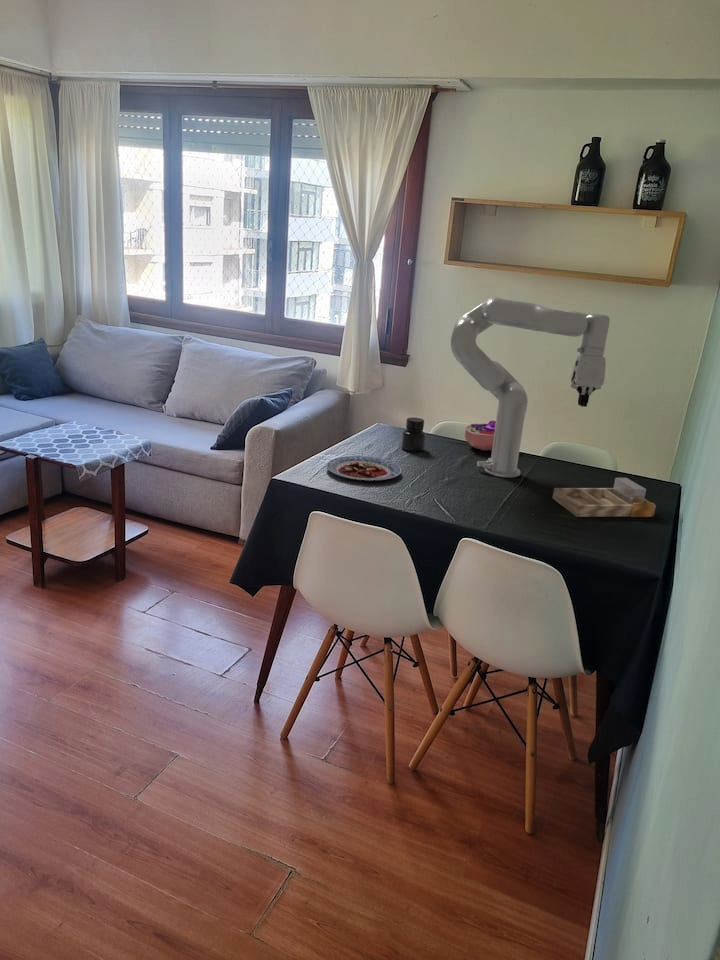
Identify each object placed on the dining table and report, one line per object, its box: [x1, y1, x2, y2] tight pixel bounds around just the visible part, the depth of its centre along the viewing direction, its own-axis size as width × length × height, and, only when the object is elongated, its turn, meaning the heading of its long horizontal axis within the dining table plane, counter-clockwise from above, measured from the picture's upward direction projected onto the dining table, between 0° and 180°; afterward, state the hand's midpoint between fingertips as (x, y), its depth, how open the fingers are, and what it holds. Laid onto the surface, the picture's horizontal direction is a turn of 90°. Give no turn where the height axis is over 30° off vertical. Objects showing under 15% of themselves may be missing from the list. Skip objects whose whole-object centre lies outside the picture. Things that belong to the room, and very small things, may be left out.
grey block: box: [612, 477, 647, 505], centre depth 214 cm, size 4×11×7 cm, turn 11°
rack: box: [552, 487, 657, 518], centre depth 213 cm, size 26×17×4 cm, turn 101°
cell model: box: [464, 420, 496, 452], centre depth 268 cm, size 17×20×11 cm
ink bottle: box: [401, 417, 426, 452], centre depth 260 cm, size 10×9×12 cm
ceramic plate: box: [326, 455, 402, 482], centre depth 230 cm, size 26×26×3 cm
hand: (582, 405), depth 230 cm, fingers closed
